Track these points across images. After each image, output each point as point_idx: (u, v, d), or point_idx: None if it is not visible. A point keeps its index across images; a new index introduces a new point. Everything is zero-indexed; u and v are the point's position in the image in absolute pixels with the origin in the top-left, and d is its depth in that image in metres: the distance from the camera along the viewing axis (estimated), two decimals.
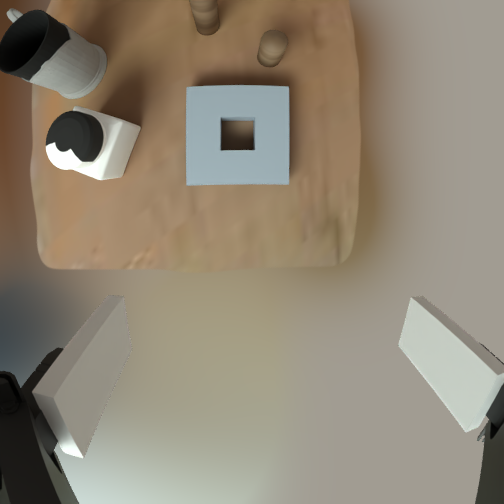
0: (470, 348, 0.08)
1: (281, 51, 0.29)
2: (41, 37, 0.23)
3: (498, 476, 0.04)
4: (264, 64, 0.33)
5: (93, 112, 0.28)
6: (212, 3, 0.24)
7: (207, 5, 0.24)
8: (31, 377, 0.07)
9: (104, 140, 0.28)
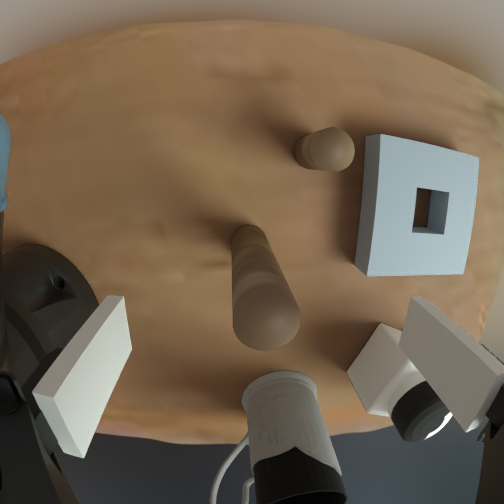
0: (470, 348, 0.08)
1: None
2: None
3: (498, 476, 0.04)
4: None
5: (386, 391, 0.24)
6: (274, 259, 0.18)
7: None
8: (31, 377, 0.07)
9: None
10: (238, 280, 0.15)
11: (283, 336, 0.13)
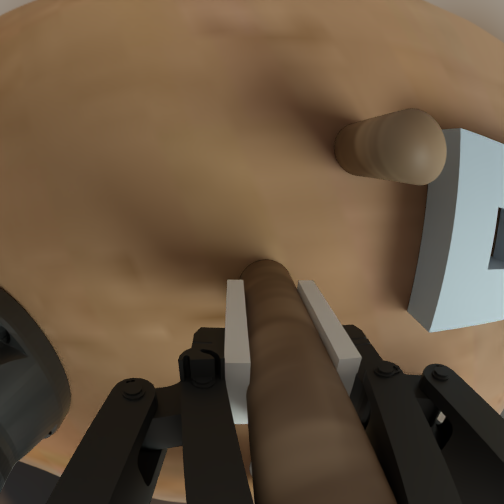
0: (325, 329, 0.10)
1: None
2: None
3: None
4: None
5: None
6: (325, 352, 0.09)
7: None
8: None
9: None
10: (264, 430, 0.06)
11: None
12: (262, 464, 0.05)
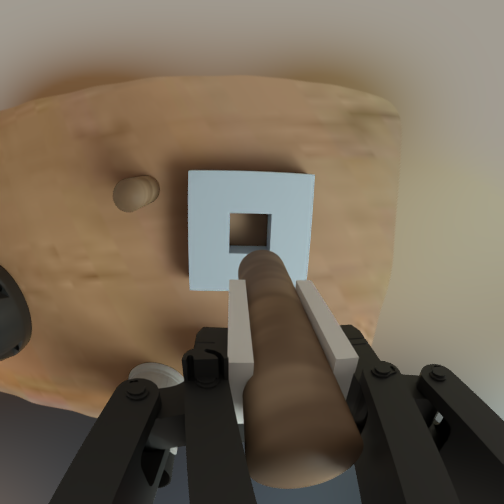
0: (322, 329, 0.10)
1: (142, 185, 0.25)
2: None
3: (378, 490, 0.05)
4: (156, 196, 0.30)
5: None
6: (308, 320, 0.11)
7: None
8: None
9: None
10: (253, 374, 0.08)
11: (329, 472, 0.06)
12: (250, 400, 0.08)
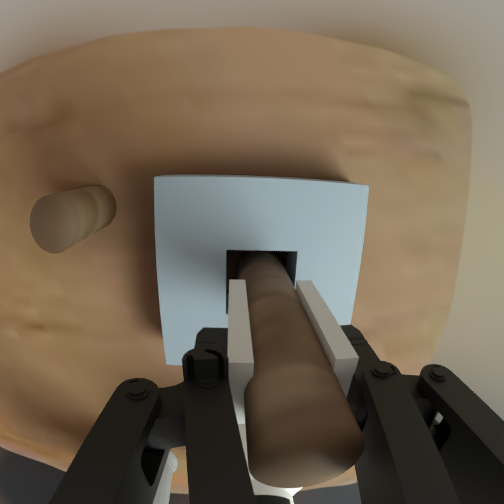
0: (323, 329, 0.10)
1: (73, 207, 0.13)
2: None
3: (378, 490, 0.05)
4: (110, 217, 0.18)
5: None
6: (308, 321, 0.11)
7: None
8: None
9: (261, 491, 0.16)
10: (254, 374, 0.08)
11: (330, 471, 0.06)
12: (252, 399, 0.08)
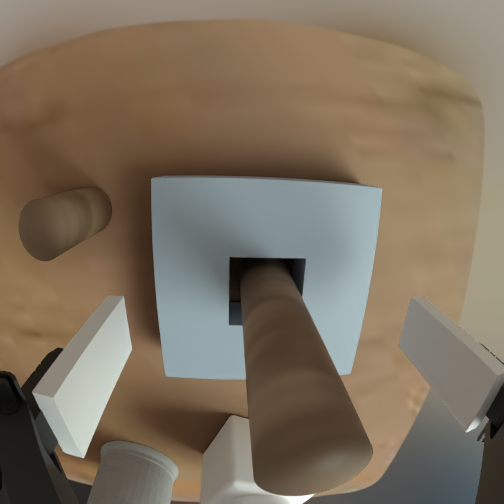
0: (470, 348, 0.08)
1: (63, 211, 0.12)
2: None
3: (498, 476, 0.04)
4: (106, 221, 0.17)
5: (213, 502, 0.17)
6: (313, 324, 0.11)
7: None
8: (31, 377, 0.07)
9: None
10: (259, 380, 0.08)
11: (337, 479, 0.06)
12: (257, 407, 0.07)
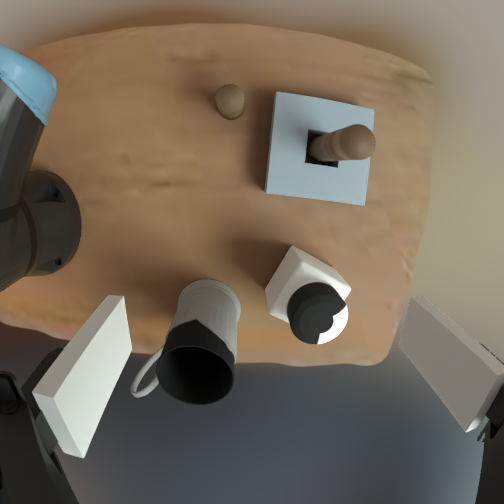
0: (470, 348, 0.08)
1: (242, 92, 0.29)
2: (174, 353, 0.33)
3: (498, 476, 0.04)
4: None
5: (283, 292, 0.33)
6: None
7: None
8: (31, 376, 0.07)
9: (321, 281, 0.32)
10: (336, 131, 0.25)
11: (366, 152, 0.23)
12: (338, 132, 0.24)
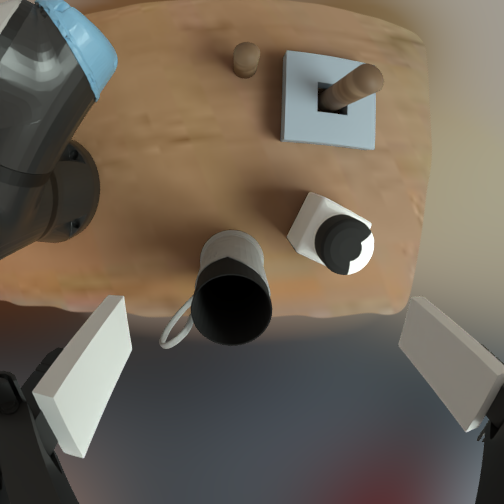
0: (470, 348, 0.08)
1: None
2: (203, 301, 0.34)
3: (498, 476, 0.04)
4: (255, 71, 0.34)
5: (309, 229, 0.34)
6: None
7: None
8: (31, 377, 0.07)
9: (345, 214, 0.32)
10: (347, 74, 0.25)
11: (377, 86, 0.23)
12: (350, 73, 0.25)
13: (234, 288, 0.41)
